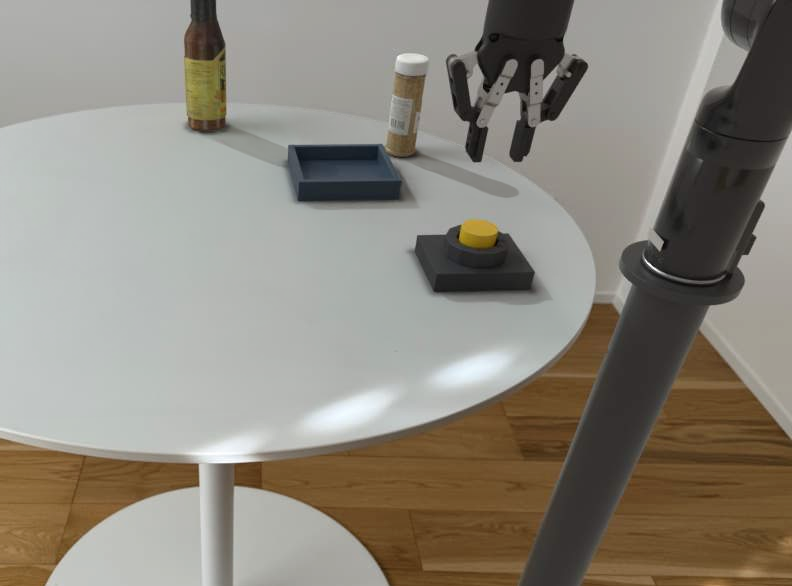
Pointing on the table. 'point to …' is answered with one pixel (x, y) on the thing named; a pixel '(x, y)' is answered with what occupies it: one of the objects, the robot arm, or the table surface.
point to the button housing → (472, 263)
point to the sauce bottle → (205, 68)
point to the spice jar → (406, 104)
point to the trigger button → (478, 234)
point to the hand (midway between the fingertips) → (495, 158)
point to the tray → (343, 172)
